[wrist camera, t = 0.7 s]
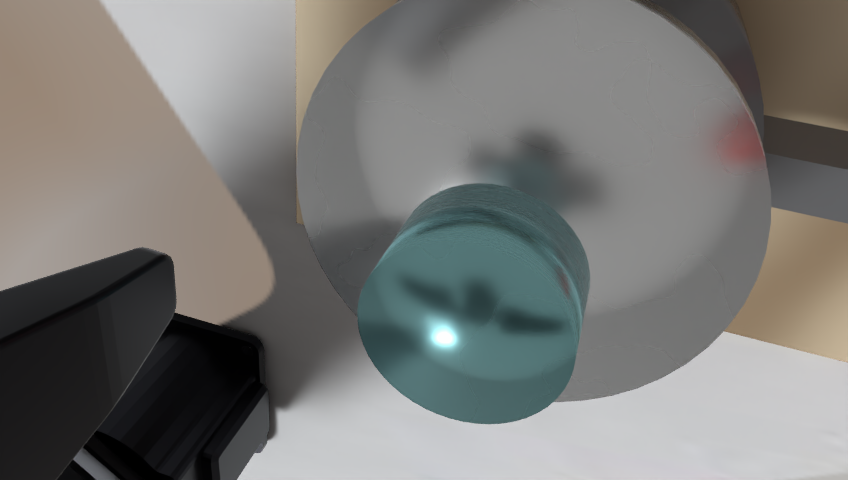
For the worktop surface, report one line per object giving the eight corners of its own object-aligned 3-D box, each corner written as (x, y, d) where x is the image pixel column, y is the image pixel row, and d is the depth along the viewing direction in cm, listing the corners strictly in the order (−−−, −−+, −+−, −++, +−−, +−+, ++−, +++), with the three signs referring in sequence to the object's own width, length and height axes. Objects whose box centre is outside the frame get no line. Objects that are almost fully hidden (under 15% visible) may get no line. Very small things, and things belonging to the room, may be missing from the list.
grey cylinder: (397, 194, 23) (352, 256, 20) (424, -121, 18) (369, -105, 15) (818, 294, 20) (841, 383, 17) (982, -42, 15) (1057, -2, 12)
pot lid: (309, 320, 17) (213, 454, 13) (313, -71, 12) (166, -21, 9) (684, 425, 15) (683, 610, 12) (853, 17, 11) (936, 121, 7)
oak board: (306, 211, 25) (296, 222, 25) (308, -231, 18) (294, -232, 18) (859, 349, 22) (864, 366, 21) (1129, -137, 15) (1150, -134, 14)
